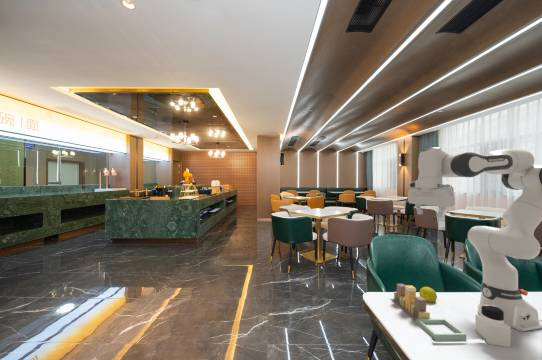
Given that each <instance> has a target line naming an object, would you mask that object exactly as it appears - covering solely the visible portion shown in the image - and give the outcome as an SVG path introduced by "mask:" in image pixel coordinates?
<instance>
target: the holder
mask: <svg viewBox="0 0 542 360" xmlns="http://www.w3.org/2000/svg"><path fill="white" fill-rule="evenodd" d="M405 285H406V284H404V283H396V291H394V292H393V298H389V300H390V301H392V303H394V304H395V305H396V306H397V307H398V308H399V309H401V310H402V311H403V312H404V313H405V314H406V315H407V316H408V317H409V318H411V319H412V320H413V321H414V322H415V323H417V322H416V320H417V319H432V318H431V316H430V315H431V313H430V312H429V311H427V301H426V300H425V299H424V298H423V297H420V296H416V297H415V300H414V303H409V310H407V309H406V308H405Z"/></svg>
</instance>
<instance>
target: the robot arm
mask: <svg viewBox="0 0 542 360" xmlns="http://www.w3.org/2000/svg"><path fill="white" fill-rule="evenodd" d="M417 169H418V174H417V175H418V176H417V179H416V180H415V181H412V182H409V183H408V188H409V189H408V191H407V202H408V204H411V205H412V204H413V205H414V207H415V209H416V214H417V215H423V214H424V210H422V208H421V207H422V206H432V207H438V208H437V209H438V212H435V217H436V218H440V219H441V218H443V215H444V212H445V211H446V210H447V209H446V208H454V207H455V206H456V200H455V199H456V198H455V192H454V190H455V189H454V187H453V185H450V184H443V178H474V177H477V176H479V175H480V174H482V173H484V172H486V173H488V174H491V175H501V178H500V179H501V183H502V184H503V186H504V188H507V189H511V190H516V191H518V190H519V191H520V190H522V191H521V194H520V196H518V197H517V198H516V199H515V200H514V201H513V202H512V203H511V205H510V206H509V207H508V208H507V209H506V210H505V211H504V212H503V214H502V220H503V223H504V224H505V226H504V227H502V228H499V227H494V226H487V225H475V226H472V227H471V228H470V229H469V230H468V232H467V239H468V241H469V242H470V243H469V244H471V245H472V246H473V247H474V249H475V250H476V252H477V253H478V256H479V258H480V261H481V267H482V280H481V284H480V287H481V293H480V300H479V304H478V305H477V308H478V309H477V313H478V315H481V314H482V305H492V306H495V307H498V308H499V309H501V310H502V311H503V312H504V323H505V324H507V325H508V326H509V327H510V328H512V329H516V330H518V331H521V332H527V331H533V330H539V329H542V319H540V318H539V312H538V310H537V309H536V307H534V306H533V305H532V304H530V303H529V302H528V301H526V300H525V299H524V298H523V296H527V297H528V295H529V293H528V291H527V290H524V289H523V288H521V289H519V273H518V272H519V271H518V270H517V268H516V267H515V266H514V265H512V263H511V262H510V260H508V258H507V257H511V258H513V259H521V260H533V259H535V258H536V257H537V256H538V255H539V254H540V252H541V244H540V242H539V241H538V239H537V238H536V237H535V230H536V228H537V227H538V226H539V225H540V224H541V222H542V164H535V157H534V154H532V153H531V152H529V151H527V150H523V149H511V148H509V149H498V150H494V151H493V150H492V151H490V152H487V153H485V154H484V155H483V154H482V155H481V154H480V153H479V154H478V153H476V152H472V151H467V152H463V153H459V154H458V153H457V154H449V153H447V152H444V151H443V150H442V148H441V147H440V146H439V147H438V146H436V147H428V148H425V149H422V150H421V151H420V153H419V155H418V161H417ZM522 295H523V296H522Z"/></svg>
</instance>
